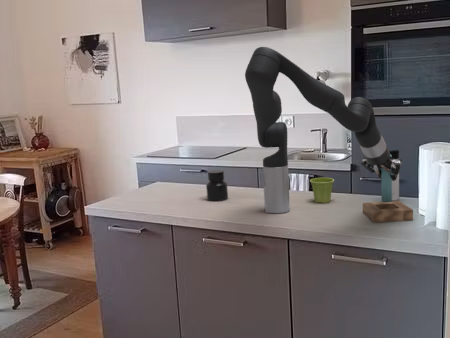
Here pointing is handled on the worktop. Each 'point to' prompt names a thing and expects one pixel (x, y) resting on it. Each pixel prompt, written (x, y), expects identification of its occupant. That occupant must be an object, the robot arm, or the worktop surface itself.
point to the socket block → (387, 211)
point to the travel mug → (396, 183)
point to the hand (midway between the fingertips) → (388, 178)
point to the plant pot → (322, 189)
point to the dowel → (386, 186)
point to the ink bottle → (216, 186)
